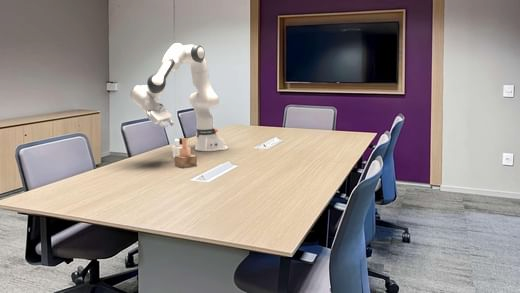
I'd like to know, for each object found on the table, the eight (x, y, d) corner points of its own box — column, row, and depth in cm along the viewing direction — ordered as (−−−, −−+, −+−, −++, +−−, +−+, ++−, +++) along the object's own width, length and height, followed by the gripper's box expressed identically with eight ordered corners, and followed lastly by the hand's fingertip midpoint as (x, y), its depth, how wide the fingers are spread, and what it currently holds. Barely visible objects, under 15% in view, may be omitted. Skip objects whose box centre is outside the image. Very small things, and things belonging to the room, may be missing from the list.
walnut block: (189, 163, 268) (188, 153, 267) (196, 166, 261) (196, 155, 260) (175, 165, 263) (174, 155, 262) (182, 168, 256) (182, 158, 255)
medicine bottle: (182, 156, 290) (181, 137, 287) (188, 157, 284) (187, 138, 282) (172, 157, 285) (171, 138, 283) (178, 159, 280) (177, 139, 277)
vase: (183, 154, 263) (182, 137, 262) (190, 155, 262) (190, 138, 261) (179, 156, 259) (179, 139, 257) (188, 156, 258) (187, 139, 256)
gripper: (148, 107, 251) (165, 125, 251) (163, 103, 271) (179, 120, 271) (141, 115, 253) (158, 132, 253) (156, 111, 273) (173, 127, 273)
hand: (169, 126), depth 262 cm, fingers open, 8 cm apart
